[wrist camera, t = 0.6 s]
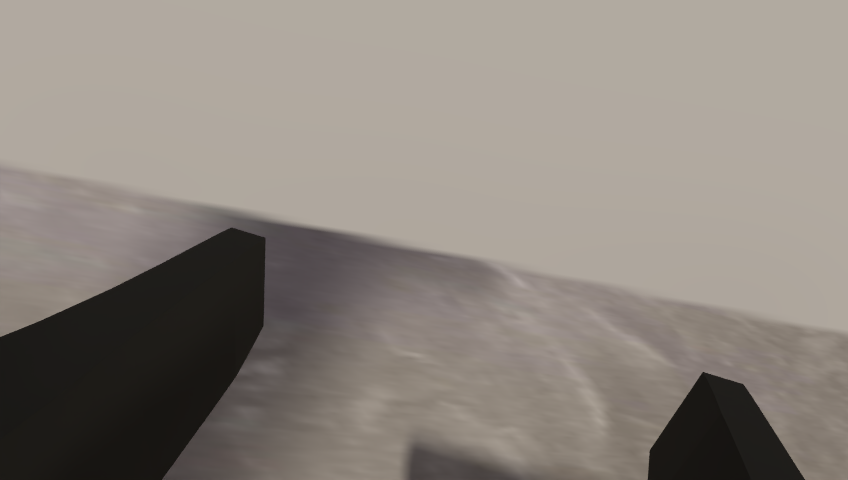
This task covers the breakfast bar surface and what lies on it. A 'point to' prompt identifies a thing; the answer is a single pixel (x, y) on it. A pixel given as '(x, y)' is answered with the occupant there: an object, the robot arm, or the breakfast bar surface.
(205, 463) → the breakfast bar surface
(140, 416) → the robot arm
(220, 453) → the breakfast bar surface
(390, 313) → the breakfast bar surface
